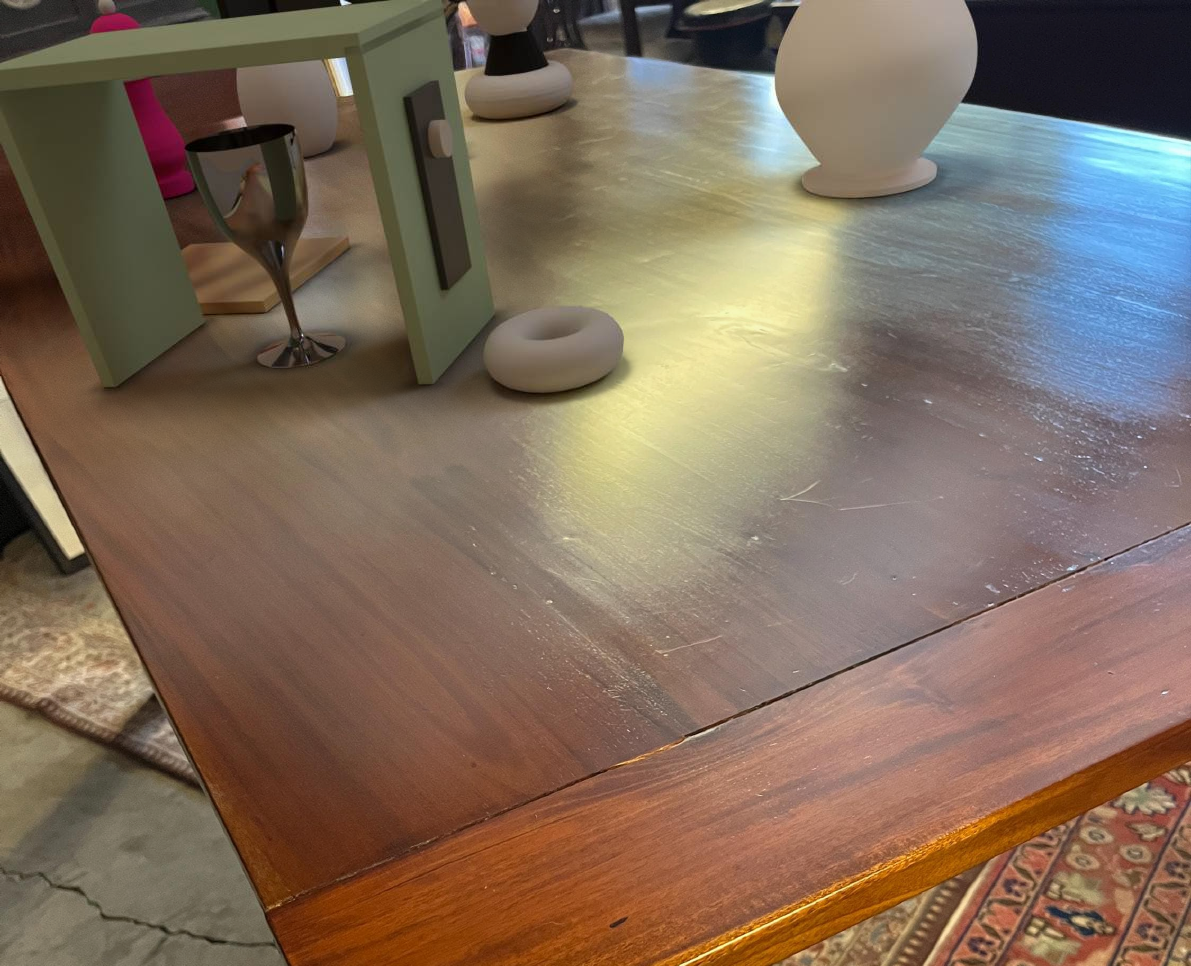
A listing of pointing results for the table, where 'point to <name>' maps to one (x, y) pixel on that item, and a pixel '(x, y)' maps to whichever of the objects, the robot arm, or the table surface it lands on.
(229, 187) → the wine glass
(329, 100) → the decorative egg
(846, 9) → the decorative vase
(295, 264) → the cutting board
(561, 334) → the donut
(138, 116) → the pepper mill
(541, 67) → the decorative figurine
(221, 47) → the cubby
